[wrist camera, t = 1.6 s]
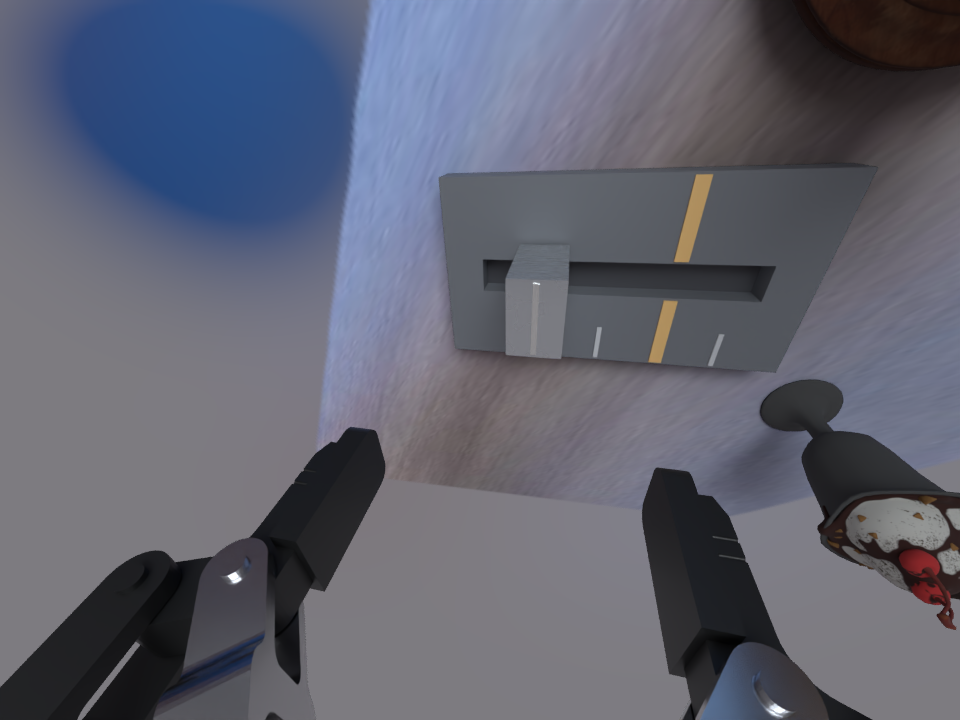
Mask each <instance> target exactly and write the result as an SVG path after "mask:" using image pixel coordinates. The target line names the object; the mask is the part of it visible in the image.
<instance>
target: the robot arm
mask: <svg viewBox="0 0 960 720" xmlns="http://www.w3.org/2000/svg"><path fill="white" fill-rule="evenodd" d="M384 474H385V461H384V457H383V454H382V450H381V446H380V443H379V439H378V435H377V433H376V431H375V430H371V429H363V428H355V427H350V428H348V429H347V430H346V431H345V432H344V433H343V435H342V436H341V438H340V439H339V440H338V442H337V443H335V442H330V443H329V444H328V445H326V446H325V447H324V448H322V449H321V450H320V451H318V452H317V453H316V454H315V455H314V456H313V457H312V459H311V460H310V461H309V463H308V464H307V465H306V467H305V468H304V471H303V472H301V473H300V474H299V476H298V477H297V478H296V479H295V482H294V484H292V485H291V486H290V487H289V488H288V490H287V491H286V492H285V494H284V495H283V496H282V498H281V499H280V500H279V501H278V503H277V504H276V505H275V507H274V508H273V509H272V510H271V512H270V513H269V514H268V516H267V517H266V518H265V520H264V521H263V522H262V523H261V525H260V526H259V527H258V529H257V530H256V531H255V532H254V533H253V534H252V536H251V537H249V538H245V539H241V540H238V541H235V542H233V543H231V544H229V545H228V546H226V547H225V548H223V549H222V550H220V551H219V552H218V553H217V554H216V555H215V556H213V557H208V558H201V559H194V560H188V561H181V562H174V561H173V559H172V558H171V557H170V556H169V555H168V554H166V553H165V552H163V551H149V552H145V553H142V554H140V555H137V556H135V557H133V558H131V559H129V560H128V561H126V562H124V563H123V564H122V565H120V566H119V567H118V568H116V569H115V570H114V571H113V572H112V573H111V574H109V575H108V576H107V577H106V578H105V580H103V582H102V583H101V584H100V585H99V586H98V587H97V588H96V589H95V590H94V591H93V592H92V593H91V594H90V595H89V596H88V597H87V598H86V599H85V600H84V601H83V602H82V603H81V604H80V605H79V607H77V609H76V610H75V611H74V612H73V613H72V614H71V615H70V616H69V617H68V618H67V619H66V620H65V621H64V622H63V623H62V624H61V625H60V626H59V627H58V628H57V629H56V630H55V631H54V632H53V633H52V634H51V635H50V636H49V637H48V639H47V640H46V641H45V642H44V643H43V644H42V645H41V646H40V647H39V648H38V649H37V650H36V651H35V652H34V653H33V654H32V655H31V656H30V657H29V658H28V659H27V661H25V662H24V663H23V664H22V666H20V668H19V669H18V670H17V671H16V672H15V673H14V674H13V675H12V676H11V677H10V678H9V679H8V680H7V681H6V682H5V683H4V684H3V685H2V686H1V687H0V720H77V719H78V716H79V715H80V712H81V711H82V709H83V708H84V706H85V705H86V704H87V702H88V701H89V700H90V699H91V697H92V696H93V695H94V693H95V692H96V691H97V690H98V688H99V687H100V686H101V685H102V683H103V682H104V681H105V680H106V678H107V677H108V676H109V674H110V673H111V672H112V671H113V669H114V668H115V667H116V666H117V664H118V663H119V661H121V659H122V658H123V657H124V655H125V654H126V653H127V652H128V650H129V649H130V648H131V646H132V645H133V644H134V643H135V642H137V643H139V644H140V646H139V647H138V649H137V650H136V651H135V652H134V654H133V655H132V656H131V658H130V659H129V660H128V662H127V663H126V664H125V665H124V667H123V668H122V669H121V671H120V672H119V673H118V674H117V676H116V677H115V678H114V680H113V681H112V682H111V684H110V685H109V686H108V687H107V689H106V690H105V691H104V692H103V694H102V695H101V696H100V698H99V699H98V700H97V702H96V703H95V704H94V705H93V707H92V708H91V709H90V711H89V712H88V713H87V714H86V716H85V717H84V718H83V719H82V720H316V716H315V711H314V706H313V702H312V699H311V696H310V693H309V688H308V680H307V679H308V678H307V658H306V639H305V638H306V636H305V615H304V603H303V600H304V598H305V596H306V594H307V592H308V591H309V589H310V588H311V589H316V590H320V591H325V590H326V588H327V586H328V584H329V582H330V580H331V579H332V577H333V575H334V572H335V571H336V569H337V567H338V565H339V563H340V561H341V559H342V557H343V556H344V554H345V552H346V550H347V548H348V546H349V544H350V542H351V540H352V539H353V536H354V535H355V533H356V531H357V529H358V527H359V525H360V523H361V521H362V520H363V518H364V516H365V514H366V512H367V510H368V508H369V506H370V504H371V502H372V501H373V498H374V497H375V495H376V493H377V491H378V489H379V487H380V485H381V483H382V481H383V478H384ZM642 522H643V529H644V535H645V540H646V546H647V552H648V558H649V562H650V569H651V574H652V580H653V586H654V591H655V597H656V602H657V608H658V614H659V619H660V624H661V630H662V636H663V641H664V647H665V652H666V658H667V664H668V669H669V674H672V675H677V676H681V677H685V678H686V679H687V684H688V689H689V694H690V700H689V702H688V704H687V706H686V708H685V710H684V712H683V714H682V716H681V718H680V720H872V719H870V718H868V717H866V716H864V715H863V714H861V713H859V712H857V711H855V710H853V709H851V708H850V707H847V706H846V705H844V704H842V703H840V702H838V701H837V700H835V699H833V698H832V697H830V696H829V695H827V694H826V693H824V692H823V691H822V690H820V689H819V688H818V687H816V686H815V685H814V684H813V683H812V681H811V680H810V679H809V678H808V677H807V675H806V674H805V673H804V672H803V671H802V670H801V669H800V668H799V667H798V666H797V665H796V664H795V663H794V662H793V661H792V660H790V658H789V657H788V655H787V654H786V652H785V651H784V649H783V647H782V646H781V644H780V642H779V639H778V637H777V635H776V633H775V630H774V627H773V625H772V622H771V620H770V617H769V615H768V613H767V610H766V607H765V605H764V602H763V600H762V597H761V595H760V593H759V590H758V588H757V585H756V583H755V580H754V578H753V575H752V573H751V570H750V568H749V565H748V563H746V562H745V555H744V553H743V550H742V548H741V545H740V544H739V543H738V538H737V535H736V533H735V530H734V528H733V525H732V523H731V520H730V518H729V516H728V515H727V514H726V512H725V511H724V510H723V509H722V508H721V506H720V505H719V504H718V503H717V502H716V500H715V499H714V498H713V497H712V496H705V495H698V492H697V490H696V487H695V484H694V481H693V478H692V476H691V474H690V473H689V472H687V471H680V470H673V469H665V468H656V469H655V470H654V473H653V476H652V479H651V482H650V485H649V487H648V490H647V493H646V496H645V499H644V503H643V509H642Z"/></svg>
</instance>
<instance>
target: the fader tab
mask: <svg viewBox="0 0 960 720" xmlns="http://www.w3.org/2000/svg"><path fill="white" fill-rule="evenodd" d="M569 246H570V245H533V244H520V246H519V248H518V250H517V253H516V255H515V257H514V260H513V262H512V264H511V267H510V269H509V271H508V274H507V276H506V278H505V294H506V355H512V356H525V357H538V358H551V359H561V356H562V346H563V335H564V325H565V314H566V304H567V294H568V283H569Z"/></svg>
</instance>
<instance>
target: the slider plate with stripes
mask: <svg viewBox="0 0 960 720" xmlns="http://www.w3.org/2000/svg"><path fill="white" fill-rule="evenodd" d="M877 169H878V167H876V166H869V165H862V164H855V163H833V164H795V165H757V166H719V167H681V168H643V169H605V170H567V171H528V172H490V173H452V174H446V175H443V176H441V177H439V187H440V198H441V208H442V219H443V229H444V239H445V250H446V260H447V271H448V281H449V291H450V302H451V312H452V323H453V333H454V343H455V348H456V349H469V350H483V351H496V352H506V294H505V278H506V276H507V274H508V271H509V269H510V267H511V264H512V262H513V260H514V257H515V255H516V253H517V250H518V248H519V246H520V244H533V245H570V246H569V283H568V294H567V304H566V314H565V325H564V335H563V346H562V357H575V358H589V359H602V360H615V361H628V362H641V363H655V364H668V365H681V366H694V367H708V368H721V369H734V370H747V371H761V372H774V373H776V371H777V369H778V367H779V365H780V363H781V361H782V359H783V357H784V355H785V353H786V351H787V349H788V347H789V345H790V343H791V341H792V339H793V337H794V335H795V333H796V331H797V329H798V327H799V325H800V323H801V321H802V319H803V317H804V315H805V313H806V311H807V309H808V307H809V305H810V303H811V301H812V299H813V297H814V295H815V293H816V291H817V289H818V287H819V285H820V283H821V281H822V279H823V277H824V275H825V273H826V271H827V269H828V267H829V265H830V263H831V261H832V259H833V257H834V255H835V253H836V251H837V249H838V247H839V245H840V243H841V241H842V239H843V237H844V235H845V233H846V231H847V229H848V227H849V225H850V223H851V221H852V219H853V217H854V215H855V213H856V211H857V209H858V207H859V205H860V203H861V201H862V199H863V197H864V195H865V193H866V191H867V189H868V187H869V185H870V183H871V181H872V179H873V177H874V175H875V173H876V171H877Z"/></svg>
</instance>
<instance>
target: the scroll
mask: <svg viewBox="0 0 960 720" xmlns="http://www.w3.org/2000/svg"><path fill="white" fill-rule="evenodd" d="M793 2H794V5H795V7H796V9H797V11H798V14H799V15H800V17H801V19H802V20H803V22H804V23H805V25H806V26H807V28H808V29H809V30H810V32H811V33H812V34H813V35H814V36H815V37H816V38H817V40H818V41H820V42H821V43H822V44H823V45H824V46H826V47H827V48H828V49H829V50H830V51H832V52H834V53H835V54H837V55H839V56H840V57H842V58H844V59H846V60H849V61H851V62H853V63H856V64H858V65H862V66H866V67H870V68H874V69H880V70H888V71H921V70H931V69H938V68H944V67H951V66H957V65H960V0H793Z"/></svg>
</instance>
